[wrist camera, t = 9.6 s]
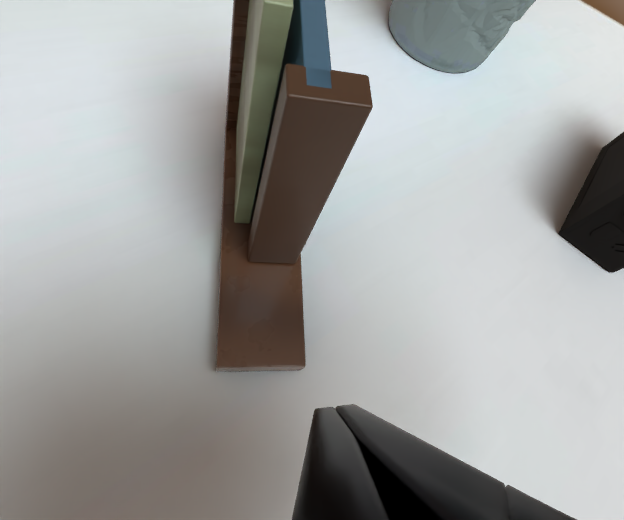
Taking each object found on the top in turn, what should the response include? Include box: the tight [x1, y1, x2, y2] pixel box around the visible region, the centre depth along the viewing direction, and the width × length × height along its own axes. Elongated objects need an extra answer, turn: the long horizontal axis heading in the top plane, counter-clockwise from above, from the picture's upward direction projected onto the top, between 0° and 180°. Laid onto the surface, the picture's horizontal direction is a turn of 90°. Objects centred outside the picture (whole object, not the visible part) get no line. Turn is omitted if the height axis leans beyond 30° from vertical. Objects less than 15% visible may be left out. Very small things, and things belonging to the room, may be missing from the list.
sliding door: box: [248, 0, 372, 264], centre depth 17 cm, size 6×2×11 cm, turn 4°
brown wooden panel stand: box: [216, 0, 305, 372], centre depth 17 cm, size 14×4×13 cm, turn 4°
